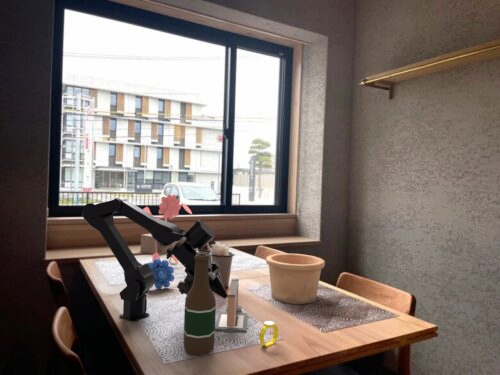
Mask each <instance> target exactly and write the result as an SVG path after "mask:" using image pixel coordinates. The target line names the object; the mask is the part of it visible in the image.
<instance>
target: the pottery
mask: <svg viewBox="0 0 500 375" xmlns="http://www.w3.org/2000/svg"><path fill="white" fill-rule="evenodd" d="M265 263H266V265H268V270H269V272H268V273H269V281H270V282H269V283H270V291H271V292H270V293H271V297H272V298H273V299H274V300H275V301H278V302H280V303H285V304H289V303H290V304H291V305H293V304H294V305H307V304H311V303H313V302H315V301H316V299H317V293H318V290H319V283H320V279H321V278H320V277H321V272H322V269H324V267H325V266H326V261H325V260H324V259H322V258H321V257H318V256H315V255H311V254H310V255H308V254H304V253H303V254H302V253H274V254H270V255H267V256H266V258H265ZM306 303H307V304H306Z"/></svg>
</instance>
